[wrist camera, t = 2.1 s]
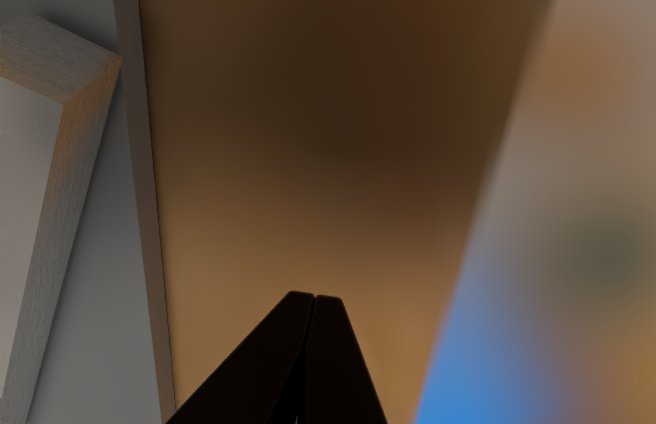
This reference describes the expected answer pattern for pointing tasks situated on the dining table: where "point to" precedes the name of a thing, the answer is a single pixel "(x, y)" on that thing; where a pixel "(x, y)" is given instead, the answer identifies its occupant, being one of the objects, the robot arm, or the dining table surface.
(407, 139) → the dining table surface
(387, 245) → the dining table surface
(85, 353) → the grey flat piece
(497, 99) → the dining table surface
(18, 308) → the tong arm
